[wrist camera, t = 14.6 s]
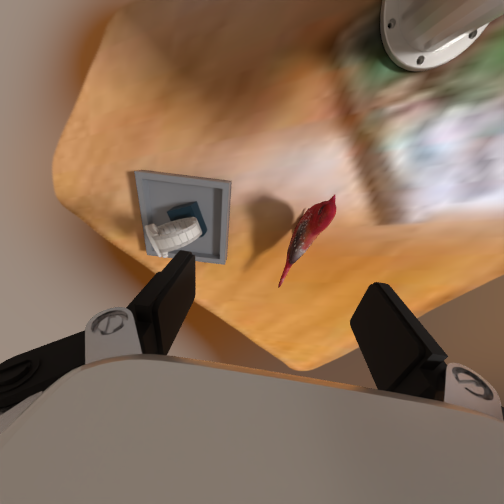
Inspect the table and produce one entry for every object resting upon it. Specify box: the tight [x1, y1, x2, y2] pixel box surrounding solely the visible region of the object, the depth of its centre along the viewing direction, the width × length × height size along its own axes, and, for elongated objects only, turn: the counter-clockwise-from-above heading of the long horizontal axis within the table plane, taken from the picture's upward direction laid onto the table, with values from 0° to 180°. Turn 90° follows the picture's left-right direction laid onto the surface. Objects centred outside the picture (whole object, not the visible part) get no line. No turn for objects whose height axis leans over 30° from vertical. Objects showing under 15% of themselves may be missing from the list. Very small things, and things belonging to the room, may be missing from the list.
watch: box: [145, 201, 208, 258], centre depth 31 cm, size 6×8×11 cm
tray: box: [134, 170, 231, 265], centre depth 35 cm, size 15×15×2 cm
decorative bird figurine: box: [278, 195, 336, 288], centre depth 32 cm, size 3×18×10 cm, turn 159°
